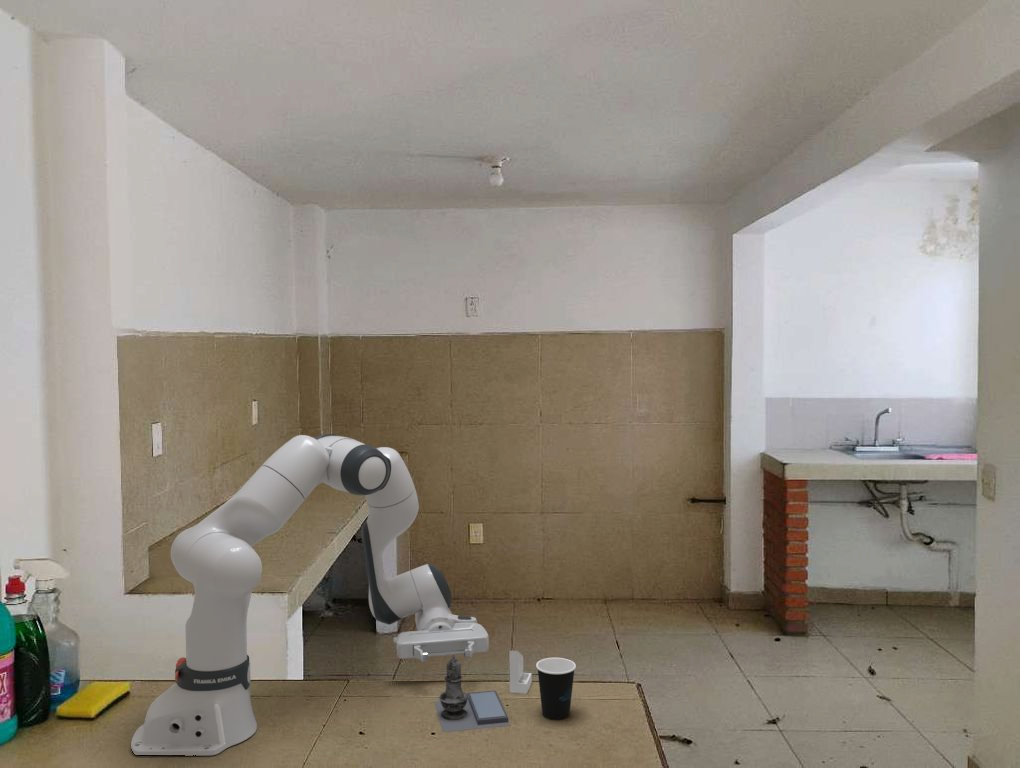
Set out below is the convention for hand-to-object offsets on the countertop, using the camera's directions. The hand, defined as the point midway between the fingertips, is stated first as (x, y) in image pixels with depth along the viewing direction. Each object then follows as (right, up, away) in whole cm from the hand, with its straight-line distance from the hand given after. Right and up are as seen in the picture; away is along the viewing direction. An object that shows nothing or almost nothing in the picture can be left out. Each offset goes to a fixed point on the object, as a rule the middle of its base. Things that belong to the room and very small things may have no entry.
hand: (446, 655), depth 180 cm
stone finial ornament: (+2, -9, -10) cm, 14 cm away
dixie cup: (+23, -9, -10) cm, 26 cm away
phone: (+9, -8, -8) cm, 14 cm away
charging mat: (+6, -9, -10) cm, 14 cm away
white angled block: (+16, -9, +3) cm, 18 cm away
